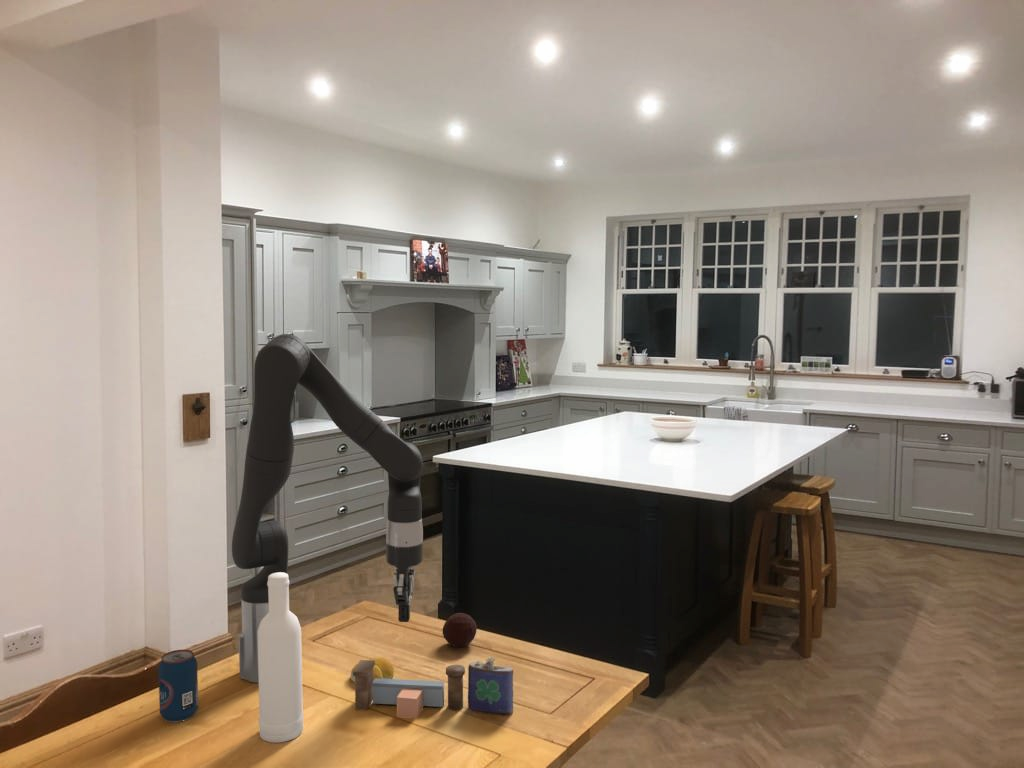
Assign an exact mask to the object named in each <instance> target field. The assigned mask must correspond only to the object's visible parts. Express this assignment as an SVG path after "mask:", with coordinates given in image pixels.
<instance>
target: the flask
mask: <svg viewBox="0 0 1024 768" xmlns="http://www.w3.org/2000/svg"><path fill="white" fill-rule="evenodd" d="M495 660H496V659H495V657H492V656H491V657H488V658H486V662H485V663H483V662H481V661H480V660H477V661H475V662H474V661H473V662H470V663H469V664H468V668H467V672H468V673H467V674H468V677H467V679H468V681H467V682H468V683H467V684H468V685H467V686H468V687H467V688H468V689H467V707H468V710H469V711H471V712H475V713H479V714H489V715H495V716H496V715H498V716H511V715H512V714H513V712H514V669H513V667H512V666H507V665H506V666H503V665H501V666H500V665H495V664H494V661H495Z"/></svg>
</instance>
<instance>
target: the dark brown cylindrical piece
mask: <svg viewBox="0 0 1024 768" xmlns="http://www.w3.org/2000/svg"><path fill="white" fill-rule="evenodd" d="M465 673H466V668H465V666H464V665H461V664H450V665H449V666H447V667H445V675H446V676H447V709H448V710H450V711H453V712H454V711H460V710H462V709H463V708H464V675H465Z"/></svg>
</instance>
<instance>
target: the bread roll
mask: <svg viewBox="0 0 1024 768" xmlns="http://www.w3.org/2000/svg"><path fill="white" fill-rule="evenodd" d="M369 660H375V665H374V667H373V681H374V680H375V678H380V679H393V677H394V675H395V668H394V666H393V664H392V663H391V661H390V660H388V659H386V658H383V657H376V658H372V659H369ZM357 665H358V663H356V664H355V665H354V666H353V667H352V669H351V671H350V678H351V681H352V682H353V683H355V676H353V671H354V670H355V668H356V666H357Z"/></svg>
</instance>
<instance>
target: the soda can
mask: <svg viewBox="0 0 1024 768" xmlns="http://www.w3.org/2000/svg"><path fill="white" fill-rule="evenodd" d="M198 681H199V679H198V661H197V658H196V657H195V655H194V652H193V650H190V649H176V650H172V651H169V652H166V653H164V654H163V655H162V656H161V661H160V662H159V664H158V694H159V695H158V696H159V697H158V698H159V699H158V700H159V714H160V716H161V717H162V719H163V720H164V721H165V720H166V722H167V721H168V722H167V723H180V722H179V721H182V722H184V721H183V720H185V721H187V720H186V719H188V720H189V718H190V719H192V718H193V717H194V716H195V713H197V710H198V708H199V685H198ZM193 715H194V716H193ZM192 716H193V717H192Z"/></svg>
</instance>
